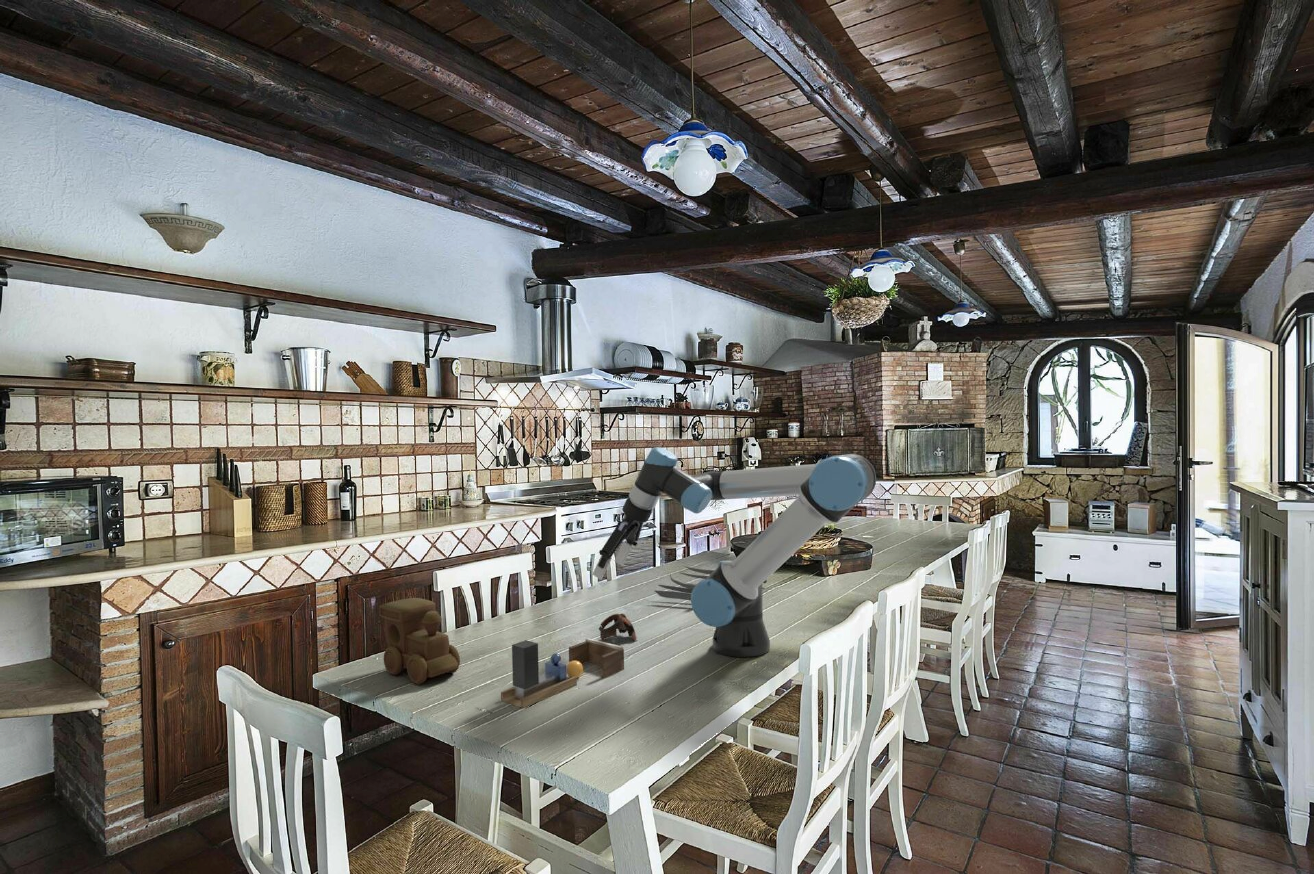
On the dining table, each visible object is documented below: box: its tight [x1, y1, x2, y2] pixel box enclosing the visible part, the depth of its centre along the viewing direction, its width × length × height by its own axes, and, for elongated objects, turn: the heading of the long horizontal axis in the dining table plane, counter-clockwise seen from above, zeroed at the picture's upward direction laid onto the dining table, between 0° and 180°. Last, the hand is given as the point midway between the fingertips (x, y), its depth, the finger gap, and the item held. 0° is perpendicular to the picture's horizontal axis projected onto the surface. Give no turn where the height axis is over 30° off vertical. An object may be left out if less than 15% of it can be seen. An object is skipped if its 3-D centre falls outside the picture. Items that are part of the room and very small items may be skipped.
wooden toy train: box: [379, 597, 461, 686], centre depth 169 cm, size 20×11×17 cm, turn 52°
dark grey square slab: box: [511, 639, 568, 699], centre depth 155 cm, size 5×12×12 cm, turn 142°
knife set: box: [653, 565, 768, 602], centre depth 239 cm, size 35×33×8 cm
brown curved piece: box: [598, 612, 637, 643], centre depth 193 cm, size 12×10×8 cm
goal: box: [568, 637, 625, 679], centre depth 170 cm, size 12×7×6 cm, turn 52°
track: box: [500, 677, 578, 709], centre depth 155 cm, size 7×16×2 cm, turn 142°
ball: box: [566, 661, 584, 678], centre depth 164 cm, size 4×4×4 cm
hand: (608, 569), depth 186 cm, fingers open, 13 cm apart
